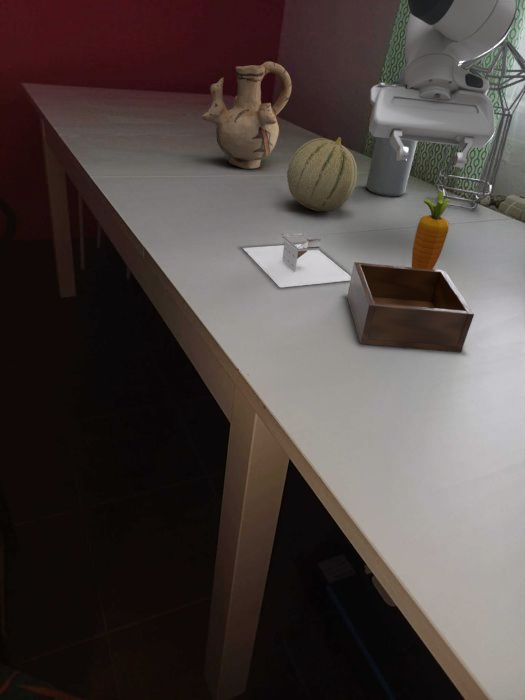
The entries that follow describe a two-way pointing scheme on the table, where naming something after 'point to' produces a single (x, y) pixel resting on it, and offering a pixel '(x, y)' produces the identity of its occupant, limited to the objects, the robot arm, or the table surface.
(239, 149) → the ceramic vessel
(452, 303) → the basket
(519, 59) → the metal wire rack
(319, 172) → the cantaloupe
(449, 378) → the table surface
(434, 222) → the carrot
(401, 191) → the water bottle
